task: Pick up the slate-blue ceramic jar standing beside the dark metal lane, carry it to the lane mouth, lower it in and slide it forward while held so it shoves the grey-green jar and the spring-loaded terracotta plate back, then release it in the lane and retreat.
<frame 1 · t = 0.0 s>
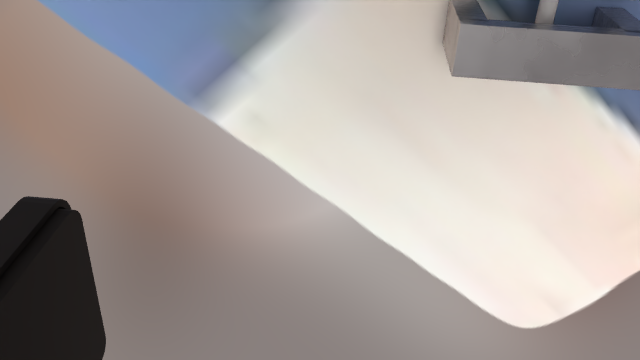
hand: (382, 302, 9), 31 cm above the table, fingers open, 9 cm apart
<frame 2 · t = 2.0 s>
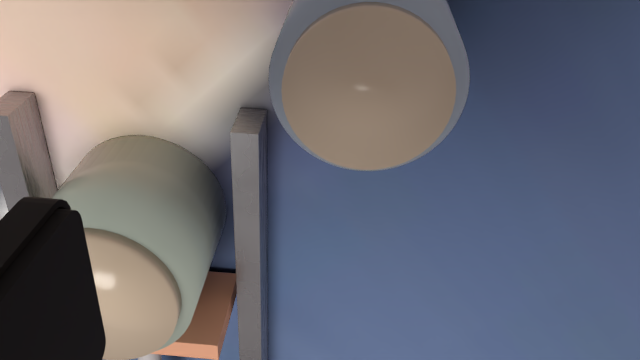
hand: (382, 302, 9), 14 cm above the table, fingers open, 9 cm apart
jar: (368, 10, 20), on the table
lane: (158, 260, 27), on the table
jar resting: (151, 202, 25), on the table
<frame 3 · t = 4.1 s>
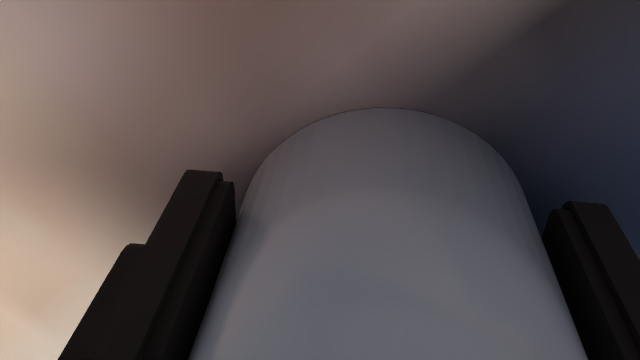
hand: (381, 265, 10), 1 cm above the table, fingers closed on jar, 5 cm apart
jar: (381, 237, 10), on the table, touching gripper
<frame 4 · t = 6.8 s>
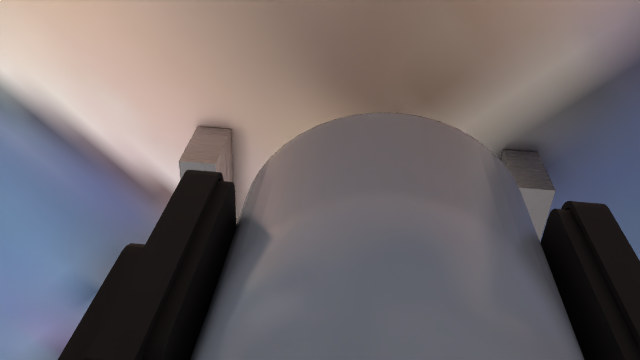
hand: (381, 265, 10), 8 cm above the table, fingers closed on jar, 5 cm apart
jar: (381, 241, 10), point 7 cm above the table, touching gripper
lane: (347, 330, 22), on the table
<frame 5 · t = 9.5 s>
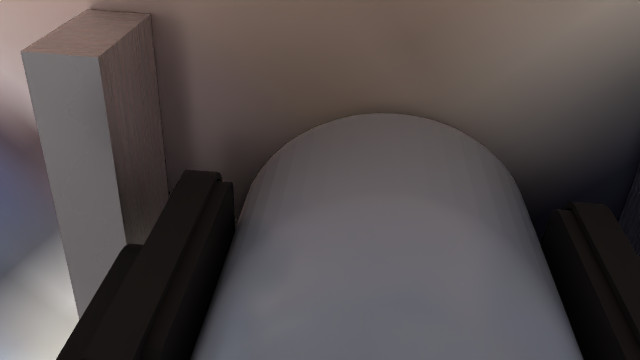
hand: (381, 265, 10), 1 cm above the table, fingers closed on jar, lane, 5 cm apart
jar: (381, 241, 11), on the table, touching gripper, jar resting
when the fingers open (1 cm above the table, at t = 10.4 s): jar stays where it is, on the table.
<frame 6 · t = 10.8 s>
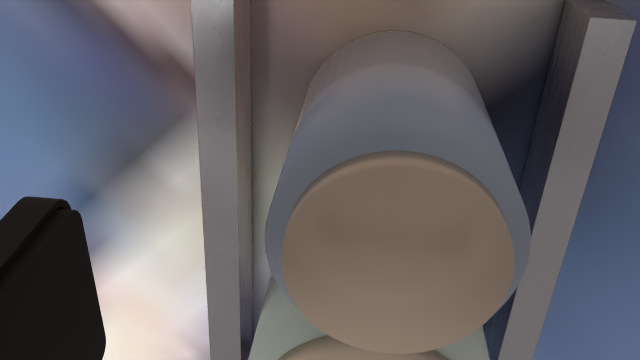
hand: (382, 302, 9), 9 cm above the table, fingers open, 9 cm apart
jar: (391, 118, 17), on the table
lane: (375, 244, 19), on the table
jar resting: (370, 278, 20), on the table
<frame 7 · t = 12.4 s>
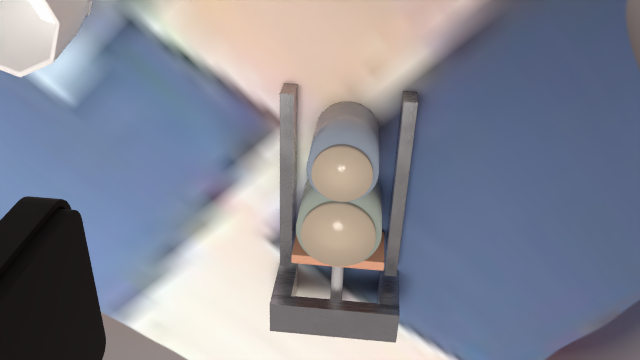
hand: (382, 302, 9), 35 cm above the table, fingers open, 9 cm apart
jar: (347, 131, 47), on the table
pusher: (336, 288, 52), point 2 cm above the table, slide at 4.6 cm
lane: (344, 179, 49), on the table
jar resting: (343, 193, 50), on the table
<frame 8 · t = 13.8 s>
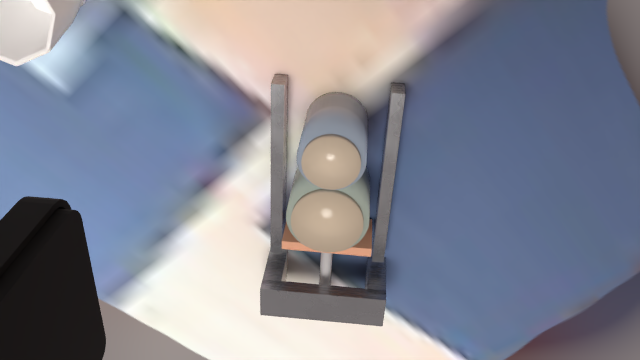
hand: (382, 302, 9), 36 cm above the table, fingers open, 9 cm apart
jar: (336, 121, 48), on the table
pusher: (325, 274, 53), point 2 cm above the table, slide at 4.6 cm
lane: (333, 168, 50), on the table
jar resting: (332, 182, 51), on the table
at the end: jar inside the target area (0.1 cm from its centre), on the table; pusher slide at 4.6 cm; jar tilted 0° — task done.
